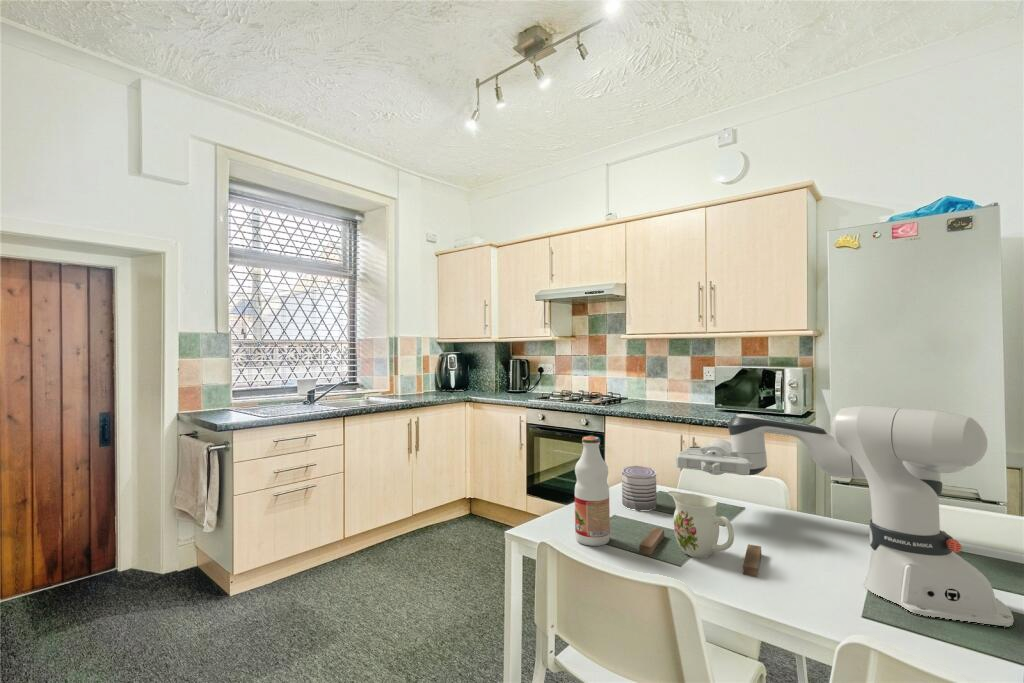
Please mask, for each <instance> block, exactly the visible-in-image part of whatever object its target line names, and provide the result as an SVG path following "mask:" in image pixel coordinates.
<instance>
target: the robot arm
mask: <svg viewBox="0 0 1024 683" xmlns="http://www.w3.org/2000/svg"><path fill="white" fill-rule="evenodd" d="M727 427H728V432H729V435H730V441H728V440H726V439H715V440H712V441H711V442H709V443H708V444H706V445H702V446H687V447H686V448H685V450H682V451H680V452H679V453H678V454H676V457H675V465H676V468H679V469H687V470H694V471H701V472H704V473H708V474H710V475H713V476H714V475H715V476H720V475H724V474H731V475H737V476H754V475H755V476H756V475H759V474H761V473H762V472H763V471H764V470H766V469H767V467H768V459H767V458H768V457H767V450H766V440H765V434H766V433H771V434H777V435H784V436H790V437H793V438H796V439H798V440H800V441H801V442H802V443H803V444H804V446H805V447H806V449H807V450H808V452H809V454H810V456H811V458H812V460H813V461H814V463H815V464H816V466H817V467H818V468H819V469H820V470H821V471H822V472H823V473H825V474H826V475H829V476H831V477H834V478H840V479H859V480H860V479H861V480H862V479H865V480H866V481H867V484H868V487H869V488H868V489H869V497H870V505H871V506H870V507H871V519H870V520H869V526H868V535H869V536H868V537H869V538H868V539H869V545H870V547H871V549H870V550H871V551H870V552H871V553H870V560H869V566H868V571H867V574H866V577H865V581H864V585H865V588H866V589H867V590H868V591H869V592H871V593H872V594H873V593H874V594H873V595H875V594H876V595H875V596H877V595H878V596H877V597H879V596H881V597H883V598H885V599H887V600H890V601H892V602H894V603H897V604H899V605H901V606H902V607H904V608H905V609H907V610H909V611H910V612H913V613H917V614H920V615H919V616H921V615H923V616H922V617H928V616H929V618H935V617H940V618H939V619H942V618H945V619H944V620H949V619H952V620H951V621H956V620H960V621H959V622H963V621H968V622H967V623H970V622H977V623H984V624H995V625H1006V626H1010V625H1012V624H1013V622H1014V623H1015V620H1014V616H1013V613H1012V611H1011V610H1010V609H1009V608H1008V606H1007V605H1006V604H1005V603H1003V602H1002V601H1001V600H1000V599H998V598H997V597H996V595H995V591H994V589H993V586H992V585H991V583H990V581H989V579H988V578H987V577H986V576H985V574H983V573H982V572H981V571H980V570H979V569H977V568H976V567H975V566H973V565H972V564H971V563H969V562H968V561H967V560H965V559H964V558H963V557H961V556H960V555H959V554H957V553H959V552H960V551H962V549H963V546H962V545H961V544H960V542H959V541H957V540H956V539H954V538H953V537H952V536H951V535H950V534H948V533H947V532H946V531H944V530H941V526H940V525H941V524H940V521H941V520H940V502H939V501H940V500H939V499H940V498H939V497H940V496H941V495H942V492H943V482H942V481H941V474H952V473H957V472H960V471H962V470H964V469H966V468H967V467H972V466H975V465H976V464H977V463H979V462H980V461H981V460H982V459H984V456H985V454H986V452H987V450H988V438H987V437H988V436H987V435H986V433H985V432H986V431H985V430H984V428H983V427H982V425H980V424H979V423H978V421H976V420H975V419H974V418H972V417H969V416H965V415H961V414H958V413H957V414H956V413H951V412H948V411H941V410H932V409H930V410H929V409H918V408H904V407H903V408H902V407H893V406H892V407H891V406H881V405H880V406H879V405H877V406H876V405H868V404H867V405H856V406H854V405H852V406H847V407H842V408H841V409H839V410H838V411H837V412H836V413H835V415H834V416H833V418H832V421H831V427H830V428H831V433H832V435H830V434H828V433H827V432H826V430H825V429H824V428H823V427H822V428H821V427H819V426H815V425H811V424H806V423H800V422H793V421H785V420H778V419H772V418H767V417H761V416H758V415H757V416H756V415H753V414H748V413H747V414H746V413H741V414H739V413H738V414H735V415H734V416H732V418H731V419H730V420H729V421H728V423H727ZM885 599H884V600H885ZM887 600H886V601H887ZM892 602H891V603H892ZM894 603H893V604H894ZM902 607H901V608H902ZM905 609H904V610H905ZM907 610H906V611H907ZM910 612H909V613H910ZM913 613H912V614H913ZM930 616H931V617H930ZM977 623H976V624H977ZM984 624H983V625H984Z"/></svg>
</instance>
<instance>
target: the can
mask: <svg viewBox="0 0 1024 683" xmlns="http://www.w3.org/2000/svg"><path fill="white" fill-rule="evenodd" d="M620 472H621V489H622V490H621V492H622V494H621V495H622V496H621V498H622V502H621V503H622V504H623V505H624V506H625V507H627V508H630V509H635V510H650V509H654V508H655V507H656V505H657V503H658V502H657V498H658V497H657V473H658V471H657V470H654V469H653V468H651V467H648V466H641V465H632V466H625V467H623V468H622V469H621V470H620ZM622 504H621V505H622ZM624 506H623V507H624ZM657 506H658V505H657ZM625 507H624V508H625ZM627 508H626V509H627ZM656 508H657V507H656ZM630 509H629V510H630Z"/></svg>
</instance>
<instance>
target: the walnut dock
mask: <svg viewBox="0 0 1024 683" xmlns="http://www.w3.org/2000/svg"><path fill="white" fill-rule="evenodd" d="M663 537H664V538H665V529H664V528H661V527H660V528H659V527H652V529H651V530H650V531H649V532H648V533H647V534H646V536H645V537H644V538H643V540H642V541H641V542H639V546H638V547H639V551H638V552H639V554H643V555H649V556H652V555H653V553H654V552H655V550H656V549H657V548H656V547H658V546H659V545H660V543H662V541H663V539H664V538H663ZM662 538H663V539H662ZM661 540H662V541H661ZM658 544H659V545H658ZM745 551H746V552H745V555H744V558H743V563H742V574H743V575H745V576H750V577H754V578H759V577H758V576H759V571H760V565H761V559H762V546H760V545H754V544H750V543H747V547H746V550H745ZM651 554H652V555H651Z"/></svg>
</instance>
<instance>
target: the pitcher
mask: <svg viewBox="0 0 1024 683" xmlns="http://www.w3.org/2000/svg"><path fill="white" fill-rule="evenodd" d="M667 494H668V495H669V496H670V497H671V498H672V499H673V501H674V504H675V509H674V514H673V520H672V521H673V522H672V523H673V524H672V525H673V531H674V532H673V533H674V536H675V539H676V542H677V544H678V546H679V548H680V550H681V551H682V552H683V553H684V554H685V553H686V554H688V555H690V556H689V557H691V558H696V559H697V558H699V559H704V558H705V559H706V558H710V556H711V555H712V554H713V553H714V552H715V551H717V552H723V551H727V550H728V549H729V548H731V547H732V546H733V544H734V541H735V530H734V526H733V524H732V522H731V521H730V519H728V517H726V516H723V515H717V513H716V512H717V508H718V502H717V500H715V499H714V498H711V497H708V496H704V495H700V494H695V493H694V494H693V493H686V492H680V491H674V490H669V491H667ZM719 522H722V523H723V524H725V526H726V529H727V532H728V537H727V541H726V542H725V543H723V544H721V545H720V544H718V540H719V536H720V523H719ZM686 554H685V555H686ZM688 555H687V556H688Z"/></svg>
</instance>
